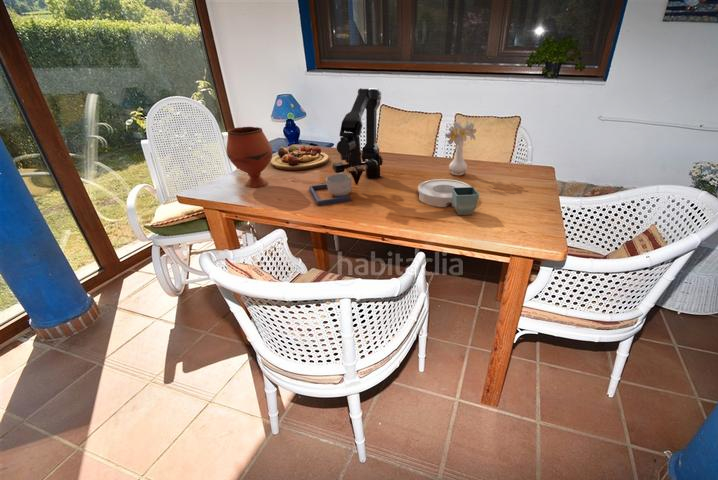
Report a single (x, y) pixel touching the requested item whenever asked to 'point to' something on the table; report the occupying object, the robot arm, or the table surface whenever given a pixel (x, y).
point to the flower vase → (459, 145)
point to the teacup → (339, 184)
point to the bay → (326, 201)
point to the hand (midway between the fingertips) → (356, 184)
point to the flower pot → (465, 200)
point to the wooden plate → (299, 158)
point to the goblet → (249, 152)
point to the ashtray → (438, 191)
